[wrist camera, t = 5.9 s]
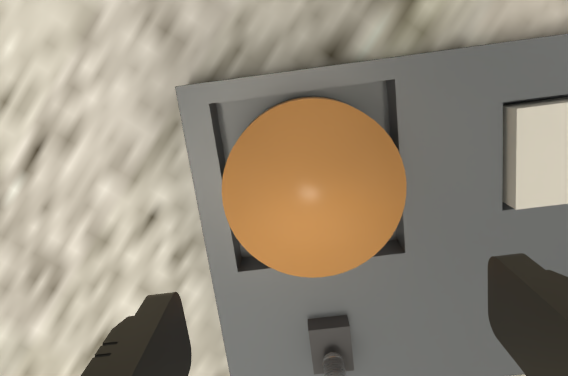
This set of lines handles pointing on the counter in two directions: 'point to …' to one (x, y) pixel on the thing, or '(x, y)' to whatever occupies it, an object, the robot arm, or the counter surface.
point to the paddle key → (535, 153)
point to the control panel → (412, 226)
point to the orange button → (313, 187)
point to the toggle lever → (333, 365)
